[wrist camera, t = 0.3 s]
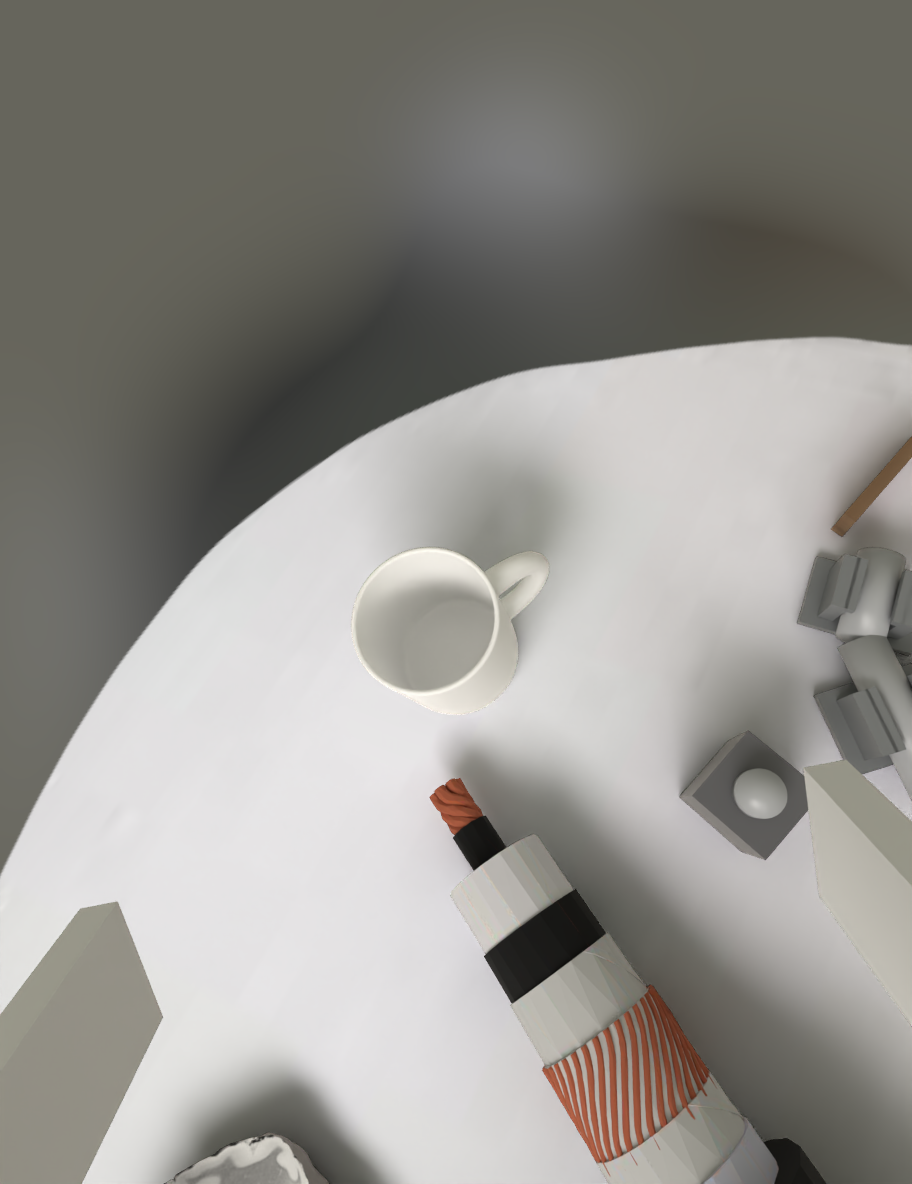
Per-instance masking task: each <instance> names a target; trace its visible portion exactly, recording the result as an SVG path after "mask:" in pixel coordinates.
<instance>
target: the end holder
mask: <svg viewBox="0 0 912 1184" xmlns="http://www.w3.org/2000/svg"><path fill="white" fill-rule="evenodd" d="M911 458H912V437H911V438H910V439H909V440H908V441H907V442H906V443H905V445H904V446H903V447H902V448H901V449H900V450H899V451H898V453H897V454H896V455H895V456H894V457H893V458H892V459H891V461H890V462H889V463H888V464H887V465H886V466H885V467H884V469H883V470H882V471H881V472H880V473H879V474H878V475H877V477H876V478H875V479H874V480H873V481H872V482H871V483H870V485H869V486H868V487H867V488H866V489H865V490H864V491H863V493H862V494H861V495H860V496H859V497H858V498H857V499H856V501H855V502H854V503H853V504H852V505H851V506H850V507H849V509H848V510H847V511H846V512H845V513H844V514H843V516H842V517H841V518H840V519H839V520H838V522H837V523H836V524H835V525H834V526H833V528H832V529H831V530H832V531H834V532H835V533H837V534H838V535H840V536H841V537H842V536H843V535H844V534H845V533H846V532H847V531H848V530H849V529H850V527H851V526H852V525H853V524H854V523H855V522H856V521H857V520H858V518H859V517H860V516H861V515H862V514H863V513H864V512H865V510H866V509H867V508H868V507H869V506H870V505H871V504H872V502H873V501H874V500H875V499H876V498H877V497H878V496H879V494H880V493H881V492H882V491H883V490H884V489H885V488H886V486H887V485H888V484H889V483H890V482H891V481H892V479H893V478H894V477H895V476H896V475H897V474H898V473H899V471H900V470H901V469H902V468H903V467H904V466H905V465H906V463H907V462H908V461H909V460H910V459H911Z"/></svg>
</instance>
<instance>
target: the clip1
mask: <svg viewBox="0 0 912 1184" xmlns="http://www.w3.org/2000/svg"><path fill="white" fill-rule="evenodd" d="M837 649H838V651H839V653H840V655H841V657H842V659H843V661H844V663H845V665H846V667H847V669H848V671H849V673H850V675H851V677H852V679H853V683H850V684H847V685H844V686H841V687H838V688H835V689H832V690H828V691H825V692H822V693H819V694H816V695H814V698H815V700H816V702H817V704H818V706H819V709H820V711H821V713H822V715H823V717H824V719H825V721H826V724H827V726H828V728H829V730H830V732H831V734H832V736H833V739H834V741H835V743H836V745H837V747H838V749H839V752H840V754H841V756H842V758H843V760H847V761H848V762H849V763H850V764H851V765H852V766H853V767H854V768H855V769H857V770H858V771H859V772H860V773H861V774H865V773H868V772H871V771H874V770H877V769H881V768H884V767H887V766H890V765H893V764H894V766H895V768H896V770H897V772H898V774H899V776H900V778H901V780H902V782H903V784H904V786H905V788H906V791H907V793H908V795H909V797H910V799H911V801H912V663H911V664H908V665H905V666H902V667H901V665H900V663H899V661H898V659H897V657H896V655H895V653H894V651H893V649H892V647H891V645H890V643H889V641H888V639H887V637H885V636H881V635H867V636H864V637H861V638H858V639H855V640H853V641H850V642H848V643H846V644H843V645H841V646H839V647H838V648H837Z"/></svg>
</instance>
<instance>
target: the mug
mask: <svg viewBox="0 0 912 1184" xmlns="http://www.w3.org/2000/svg"><path fill="white" fill-rule="evenodd" d="M548 575H549V563H548V561H547V559H546V557H544V556H543V555H542V554H540V553H538V552H533V551H527V552H522V553H518V554H516V555H513V556H511V557H509V558H506V559H505V560H503V561H501V562H499V563H498V564H496V565H494V566H493V567H491V568H490V569H488V570H487V571H485V572H484V571H483V570H482V569H481V568H480V567H479V566H478V565H477V564H476V563H474V562H473V561H472V560H470V559H469V558H467V557H466V556H464V555H462V554H460V553H458V552H455V551H452V550H449V549H444V548H439V547H422V548H416V549H411V550H407V551H404V552H401V553H399V554H397V555H395V556H393V557H391V558H390V559H388V560H386V561H385V562H383V563H382V564H381V565H380V566H379V567H377V568H376V569H375V570H374V571H373V572H372V573H371V575H370V576H369V577H368V578H367V580H366V581H365V582H364V584H363V586H362V587H361V589H360V591H359V593H358V595H357V598H356V600H355V604H354V607H353V612H352V619H351V632H352V639H353V643H354V647H355V650H356V653H357V655H358V657H359V659H360V661H361V663H362V664H363V666H364V667H365V668H366V670H367V671H368V672H369V673H370V674H371V675H372V676H373V677H374V678H375V679H376V680H377V681H379V682H380V683H381V684H382V685H384V686H386V687H388V688H390V689H391V690H393V691H395V692H397V693H399V694H401V695H403V696H405V697H406V698H408V699H410V700H412V701H414V702H416V703H418V704H420V705H421V706H423V707H425V708H427V709H430V710H432V711H435V712H438V713H443V714H449V715H462V714H468V713H472V712H475V711H478V710H480V709H482V708H485V707H486V706H488V705H490V704H491V703H493V702H494V701H495V700H496V699H498V698H499V697H500V696H501V694H502V693H503V692H504V691H505V690H506V688H507V687H508V686H509V684H510V682H511V680H512V678H513V676H514V673H515V670H516V667H517V662H518V654H519V653H518V642H517V637H516V633H515V630H514V627H513V625H512V623H511V619H512V618H513V617H515V616H516V615H517V614H518V613H519V612H521V611H522V610H523V609H524V608H525V607H526V606H527V605H528V604H529V603H530V602H531V601H532V600H533V599H534V598H535V597H536V596H537V594H538V593H539V592H540V591H541V589H542V588H543V586H544V584H545V583H546V580H547V578H548ZM521 579H522V581H521V582H520V583H519V584H518V585H517V586H516V587H515V588H514V589H513V590H512V591H511V592H509V593H508V594H507V595H506V596H504V597H503V598H501V599H500V598H499V595H501V594H502V593H503V592H504V591H506V590H507V589H508V588H509V587H511V586H512V585H513V584H515V583H516V582H518V581H519V580H521Z"/></svg>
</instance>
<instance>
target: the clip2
mask: <svg viewBox="0 0 912 1184" xmlns="http://www.w3.org/2000/svg"><path fill="white" fill-rule="evenodd" d="M905 563H906V558H905V557H904V556H903V555H901V554H900V553H898V552H895V551H892V550H888V549H884V548H875V547H869V548H863V549H860V550H858V552H857V556H856V557H855V556H852V555H848V554H844V555H843V556H842V557H841V558H840V559H839V560H838V561H834V560H830V559H826V558H822V557H819V556H817V557H816V558H815V561H814V564H813V568H812V571H811V575H810V579H809V582H808V586H807V589H806V593H805V597H804V600H803V604H802V607H801V611H800V615H799V618H798V622H797V624H800V625H804V626H807V627H811V628H814V629H818V630H821V631H824V632H828V633H831V634H835V636H836V637H837V638H838V639H839V640H841V641H843V642H845V643H848V642H850V641H853V640H855V639H858V638H861V637H864V636H867V635H881V636H885V637H887V639H888V641H889V643H890V645H891V647H892V649H893V651H894V652H897V653H900V654H904V655H907V656H909V655H911V654H912V571H909V570H905V571H904V567H905ZM903 571H904V572H903Z"/></svg>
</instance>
